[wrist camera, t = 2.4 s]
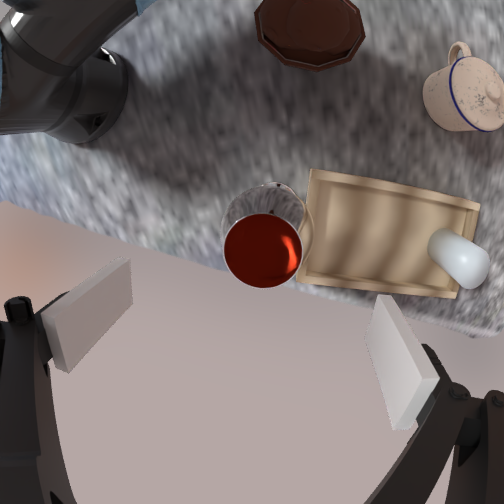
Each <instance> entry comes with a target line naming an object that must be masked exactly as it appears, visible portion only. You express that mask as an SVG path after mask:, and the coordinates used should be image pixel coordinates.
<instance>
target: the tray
mask: <svg viewBox="0 0 504 504" xmlns="http://www.w3.org/2000/svg"><path fill="white" fill-rule="evenodd" d="M306 206H307V208H308V209H309V211H310V213H311V216H312V219H313V223H314V242H313V246H312V249H311V252H310V254H309V256H308V258H307V260H306V261H305V263H304V264H303V266H302V267H301V268H300V269H299V271H298V272H297V273H296V282H300V283H308V284H317V285H326V286H334V287H343V288H352V289H361V290H371V291H380V292H390V293H400V294H410V295H420V296H431V297H442V298H453V299H455V298H456V295H457V292H458V289H459V286H460V284H459V283H458V282H457V281H456V280H455V279H454V278H452V277H451V276H450V275H449V274H448V273H447V272H446V271H445V270H444V269H442V268H441V267H440V266H439V265H438V264H437V263H436V262H434V261H433V260H432V259H431V258H430V256H429V254H428V250H427V245H428V241H429V238H430V237H431V235H432V234H433V233H434V232H435V231H436V230H438V229H440V228H448V229H450V230H452V231H454V232H455V233H457V234H459V235H460V236H462V237H464V238H466V239H467V240H469V241H471V242H472V241H473V237H474V232H475V228H476V224H477V219H478V214H479V209H480V204H479V203H476V202H473V201H471V200H467V199H464V198H460V197H456V196H452V195H448V194H444V193H440V192H436V191H431V190H427V189H423V188H418V187H414V186H409V185H404V184H400V183H395V182H390V181H385V180H380V179H374V178H369V177H363V176H357V175H352V174H346V173H339V172H333V171H326V170H320V169H313V168H310V176H309V184H308V192H307V200H306Z"/></svg>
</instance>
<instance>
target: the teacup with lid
mask: <svg viewBox="0 0 504 504" xmlns="http://www.w3.org/2000/svg"><path fill="white" fill-rule="evenodd" d="M460 49H461V50H462V53H463V57H462V58H460V59H458V60H457V61H456V58H457V54H458V52H459V50H460ZM448 64H449V66H447V67H445V68H443V69H441V70H439V71H437V72H434V73H433V74H431V75H430V76H429V77H428V78H427V79H426V81H425V83H424V86H423V101H424V105H425V108H426V110H427V112H428V114H429V115H430V117H431V118H432V119H433V121H434V122H435V123H436V124H438V125H439V126H440V127H442V128H444V129H446V130H449V131H472V130H479V131H482V132H492V131H495V130H497V129H498V128H499V127H501V126H502V125H503V123H504V83H503V81H502V80H501V78H500V76H499V75H498V73H497V72H496V71H495V70H494V69H493V68H492V67H491V66H490V65H489V64H488V63H486V62H485V61H483V60H481V59H479V58H475V57H472V55H471V51H470V49H469V47H468V46H467V45H466V44H465V43H463V42H455V43H454V44H453V45H452V46H451V48H450V50H449V54H448Z"/></svg>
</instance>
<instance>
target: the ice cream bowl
mask: <svg viewBox="0 0 504 504" xmlns="http://www.w3.org/2000/svg"><path fill="white" fill-rule="evenodd" d="M254 16H255V22H256V29H257V36H258V41H259V42H260V43H261V44H262V45H263V46H264V47H266V48H267V49H268V50H269V51H270V52H271V53H272V54H273V55H274V56H275V57H277V58H278V59H279V60H280V61H281V62H282V63H283V64H284V65H287V66H292V67H297V68H301V69H306V70H310V71H315V72H319V71H322V70H325V69H328V68H331V67H334V66H337V65H340V64H343V63H346V62H349V61H351V60H352V58H353V56H354V55H355V53H356V52H357V50H358V48H359V47H360V45H361V44H362V42H363V40H364V39H365V37H366V36H365V31H364V27H363V23H362V19H361V15H360V11H359V9H358V8H357V7H356V6H355V5H354V4H353V3H352V2H351V1H349V0H263V1H262V3H261V4H260V5H259V7H258V8H257V9H256V11H255V12H254Z"/></svg>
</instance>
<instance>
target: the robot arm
mask: <svg viewBox="0 0 504 504" xmlns="http://www.w3.org/2000/svg"><path fill="white" fill-rule="evenodd" d="M1 1H3V2H4V3H6V4H7V5H9V6H11V7H12V8H11V9H10V10H9V12H8V13H7V14H6V16H5V17H4V18H3V19H2V21H1V22H0V135H8V134H19V133H34V132H45V133H47V134H48V135H50V136H52V137H54V138H56V139H58V140H60V141H63V142H66V143H86V142H90V141H93V140H95V139H97V138H98V137H100V136H101V135H103V134H104V133H105V132H106V131H107V130H108V129H109V128H110V127H111V126H112V125H113V124H114V122H115V121H116V119H117V118H118V116H119V114H120V113H121V110H122V108H123V106H124V103H125V100H126V96H127V90H128V75H127V70H126V67H125V65H124V63H123V61H122V60H121V58H120V57H119V56H118V55H117V54H115V53H114V52H112V51H110V50H108V49H106V48H103V47H100V46H102V45H103V44H104V43H105V42H106V41H107V40H108V39H109V38H111V37H112V36H113V35H114V34H115V33H117V32H118V31H119V30H120V29H121V28H123V27H124V26H125V25H126V24H128V23H129V22H130V21H131V20H133V19H134V18H135V17H137V16H138V17H139V16H140V15H141V14H142V13H143V11H144V10H145V9H146V8H147V7H149V6H150V5H151V4H152V3H154V2H155V1H156V0H1ZM132 304H133V302H132V286H131V267H130V259H127V258H121V257H118V258H116V259H115V260H113V261H112V262H110V263H109V264H108V265H106V266H105V267H103V268H102V269H100V270H99V271H97V272H96V273H95V274H93V275H92V276H90V277H89V278H87V279H86V280H85V281H83V282H82V283H81V284H79V285H78V286H77V287H75V288H74V289H72V290H71V291H68V292H65V293H63V294H61V295H59V296H58V297H57V298H55V299H54V300H52V301H51V302H50V303H49V304H47V305H46V306H45V307H43V308H42V309H40V310H39V311H38V312H36V313H35V314H34V312H33V308H32V304H31V300H30V299H29V298H28V297H25V296H18V297H14V298H11V299H9V300H8V301H6V302H5V304H4V308H5V312H6V316H7V319H8V322H5V321H0V504H77V503H76V501H75V499H74V496H73V493H72V490H71V486H70V483H69V479H68V476H67V472H66V468H65V464H64V460H63V455H62V451H61V446H60V441H59V436H58V431H57V424H56V419H55V412H54V405H53V397H52V389H51V379H50V378H51V377H50V368H49V365H48V361H49V360H50V359H51V358H52V357H53V360H54V364H55V367H56V368H57V369H60V370H62V371H64V372H67V373H70V372H71V371H72V369H73V368H74V367H75V366H76V365H77V364H78V363H79V361H80V360H81V359H82V358H83V357H84V356H85V355H86V354H87V353H88V351H89V350H90V349H91V348H92V347H93V346H94V345H95V344H96V343H97V341H98V340H99V339H100V338H101V337H102V336H103V335H104V334H105V333H106V332H107V331H108V330H109V328H110V327H111V326H112V325H113V324H114V323H115V322H116V321H117V320H118V319H119V318H120V317H121V316H122V315H123V314H124V312H125V311H126V310H127V309H128V308H129V307H130V306H131V305H132ZM365 342H366V345H367V348H368V351H369V354H370V357H371V360H372V363H373V366H374V369H375V372H376V375H377V378H378V381H379V384H380V388H381V391H382V394H383V398H384V401H385V404H386V407H387V411H388V415H389V418H390V422H391V425H392V429H393V430H404V429H405V430H406V429H410V428H411V426H412V424H413V423H414V422H415V420H417V423H418V426H419V427H418V428H417V430H416V431H415V433H414V434H413V436H412V437H411V438H410V440H409V441H408V443H407V446H406V447H405V449H404V450H403V452H402V453H401V455H400V456H399V458H398V459H397V461H396V462H395V464H394V465H393V466H392V468H391V469H390V471H389V472H388V473H387V475H386V476H385V477H384V479H383V480H382V482H381V483H380V484H379V485H378V487H377V488H376V489H375V490H374V492H373V493H372V494H371V495H370V497H369V498H368V499H367V501H366V502H365V503H364V504H425V503H426V501H427V499H428V498H429V496H430V494H431V492H432V490H433V488H434V486H435V485H436V483H437V481H438V479H439V477H440V475H441V472H442V471H443V469H444V466H445V464H446V462H447V460H448V458H449V456H450V453H451V451H452V449H453V446H454V445H455V447H454V454H453V462H452V469H451V475H450V481H449V486H448V491H447V497H446V501H445V504H504V393H503V392H500V391H498V390H491V391H489V392H488V393H487V394H486V396H485V398H484V399H480V398H474V397H471V395H470V392H469V391H468V390H467V389H466V388H465V387H464V386H463V385H461V384H458V383H455V382H452V381H451V379H450V377H449V375H448V374H447V372H446V370H445V369H444V367H443V366H442V365H441V362H440V360H439V359H438V357H437V355H436V353H435V352H434V350H432V349H431V348H430V347H429V346H428V345H427V344H421V343H420V342H419V340H418V338H417V337H416V335H415V333H414V332H413V330H412V329H411V327H410V325H409V323H408V322H407V320H406V318H405V317H404V315H403V314H402V312H401V310H400V309H399V307H398V306H397V304H396V302H395V301H394V299H393V298H392V296H391V295H382V294H378V296H377V299H376V303H375V306H374V310H373V313H372V316H371V319H370V323H369V326H368V329H367V332H366V335H365Z"/></svg>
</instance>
